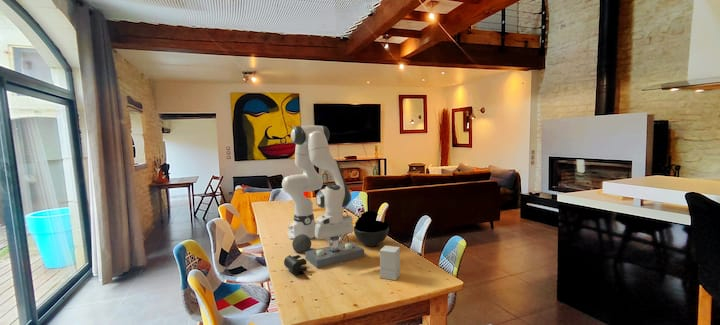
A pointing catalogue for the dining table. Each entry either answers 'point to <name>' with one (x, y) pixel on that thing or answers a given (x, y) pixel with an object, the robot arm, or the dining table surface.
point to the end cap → (295, 264)
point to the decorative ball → (301, 243)
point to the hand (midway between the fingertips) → (334, 244)
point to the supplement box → (390, 262)
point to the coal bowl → (370, 229)
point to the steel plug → (335, 244)
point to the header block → (334, 255)
